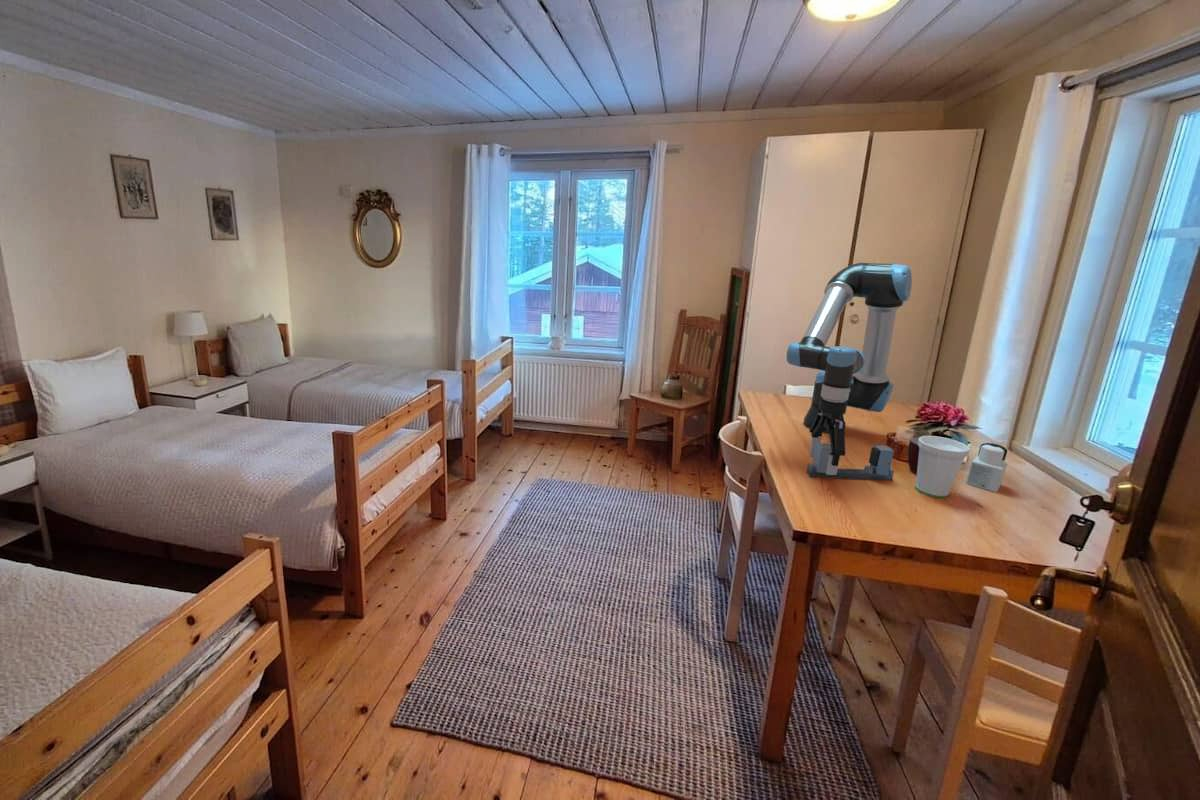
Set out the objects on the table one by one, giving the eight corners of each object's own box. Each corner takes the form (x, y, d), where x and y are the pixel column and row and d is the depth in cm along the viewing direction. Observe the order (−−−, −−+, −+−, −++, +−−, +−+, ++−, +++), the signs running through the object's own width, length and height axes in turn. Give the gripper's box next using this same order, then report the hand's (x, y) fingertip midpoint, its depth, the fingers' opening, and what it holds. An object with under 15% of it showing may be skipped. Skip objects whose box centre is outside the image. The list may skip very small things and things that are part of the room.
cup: (912, 496, 146) (924, 447, 142) (903, 478, 157) (914, 433, 153) (962, 504, 142) (976, 454, 138) (949, 486, 153) (962, 439, 149)
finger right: (812, 466, 158) (816, 443, 156) (827, 467, 158) (831, 443, 156) (817, 472, 155) (821, 448, 152) (832, 472, 155) (837, 448, 152)
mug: (936, 481, 156) (944, 452, 153) (907, 476, 159) (914, 447, 156) (929, 469, 166) (936, 440, 163) (901, 464, 168) (908, 436, 165)
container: (971, 476, 161) (981, 438, 157) (1001, 485, 156) (1012, 446, 152) (965, 483, 156) (976, 444, 152) (996, 492, 150) (1008, 452, 147)
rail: (805, 472, 159) (810, 442, 156) (885, 475, 159) (892, 446, 156) (810, 477, 155) (815, 447, 152) (892, 481, 155) (899, 451, 153)
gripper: (867, 412, 138) (852, 483, 144) (828, 388, 162) (817, 450, 168) (840, 411, 138) (826, 482, 144) (805, 387, 162) (795, 449, 168)
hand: (821, 465), depth 156 cm, fingers open, 12 cm apart
